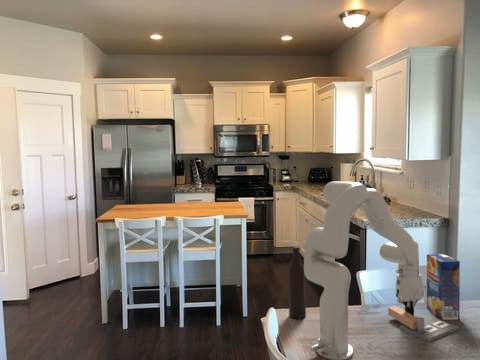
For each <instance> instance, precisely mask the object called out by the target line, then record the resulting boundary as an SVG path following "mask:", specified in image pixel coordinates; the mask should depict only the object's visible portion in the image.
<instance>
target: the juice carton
mask: <svg viewBox="0 0 480 360" xmlns="http://www.w3.org/2000/svg"><path fill="white" fill-rule="evenodd" d="M460 262H461V261H460V260H458V259H455V258H453V257H451V256H449V255H448V254H447V255H446V254H445V253H434V254H433V253H432V254H426V309H427V310H429V311H430V312H431V313H432V314H434V315H435V317H436V318H437V319H439V320H442V321H444V320H447V321H448V320H450V321H451V320H460V295H461V294H460V289H461V287H460V279H461V278H460V274H461V273H460V270H461V269H460V264H461V263H460Z"/></svg>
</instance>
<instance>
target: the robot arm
mask: <svg viewBox="0 0 480 360" xmlns="http://www.w3.org/2000/svg"><path fill="white" fill-rule="evenodd" d="M322 191H323V192H322V195H323V196H322V197H323V198H324V200H325V201H326V202H327V203H329V204H330V205H329V206H328V208H327V209H326V211H325V214H324V221H323V222H324V223H323V226H322V227H321V226H317V227H316V226H315V227H313V228H312V229H310V231H309V232H308V233H307V236H306V238H305V242H304V258H303V266H304V273H305V279H307V281H310V282H311V283H313V284H316V285H317V286H318V285H319V286H321V287H322V288H323V291H322V293H321V295H320V298H319V333H320V336H319V338H317V342H316V344H312V345H310V346H309V350H310V352H312V353H313V352H316V353H317V354H318V355H320V356H321V357H322V358H324V359H328V360H348V359H350V358H351V357H352V356H353V355H354V348H353V346H352V345H351V344H349V291H350V286H351V285H350V284H351V279H352V277H351V272H350V270H349V269H348V267H347V266H346V265H344V264H343V263H340V262H338V261H335V260H332V259H327V258H326V257H329V258H333V259H342V258H344V257H345V256H347V253H348V250H349V249H348V248H349V240H350V239H349V236H350V224H351V219H352V216H353V214H354V212H355V211H356V210H360V211H362V212H363V214H364V215H365V217H366V219H367V222H368V224H369V226H370V228H371V230H372V231H373V232H375V233H376V234H377V235H378V236H381V237H383V238H384V239H387V240H388V241H389V242H385V243H383V244H382V245H381V246H380V248H379V255H380V257H381V258H382V260H384V261H386V262H390V263H393V264H397V269H396V270H395V271H396V274H397V275H396V281H395V298H396V303H398V304H401V305H403V306H404V311H406V312H408V313H410V314H411V315H413V316H415V307H416V304H417V302H419V301H421V300H422V299H424V297H425V295H424V294H425V293H424V292H425V291H424V283H423V277H422V274H420V269H419V268H420V264H419V263H420V259H419V257H420V256H419V254H420V253H419V251H420V249H419V243H418V242H417V241H415V240H414V238H413V236H411V234H410V233H409V232H408V231H407V230H405V228H404V227H402V226H401V225H400V224H399V223H398V222H396V221H395V220H394V218H393V217H392V214H391V212H390V208H389V207H388V205H387V202H386V200H385V199H384V196H383V194H382V193H381V191H380V190H378V189H375V188H371V187H370V188H369V187H367V186H366V185H365V184H363V183H361V182H356V181H338V180H337V181H330V182H328V183H327V184H326V185H325V186H324V187H323V190H322Z"/></svg>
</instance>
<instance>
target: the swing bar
mask: <svg viewBox="0 0 480 360" xmlns="http://www.w3.org/2000/svg"><path fill="white" fill-rule="evenodd" d="M387 310H388V311H387V314H388V316H390V317H392V318H394V319H395V320H396V321H399V322H400V323H402V324H403V325H406V326H408V327H410V328H411V329H413V330H414V329H417V318H418V317H417V316H415V315H414V316H413V315H411V314H410V313H408V312H406V311H405V309H402V308H401V307H399V306H397V305H396V306H395V305H394V306H390V307H388V309H387Z"/></svg>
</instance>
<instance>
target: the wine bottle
mask: <svg viewBox="0 0 480 360" xmlns="http://www.w3.org/2000/svg"><path fill="white" fill-rule="evenodd" d="M287 271H288V273H287V275H288V277H287V278H288V315H289V317H290V318H291V319H295V320H303V319H304V318H306V315H307V309H306V306H307V305H306V299H307V298H306V276H305V273H304V263H303V262H302V260H301V258H300V246H293V247H292V259H291V261H290V263H289V266H288V269H287Z"/></svg>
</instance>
